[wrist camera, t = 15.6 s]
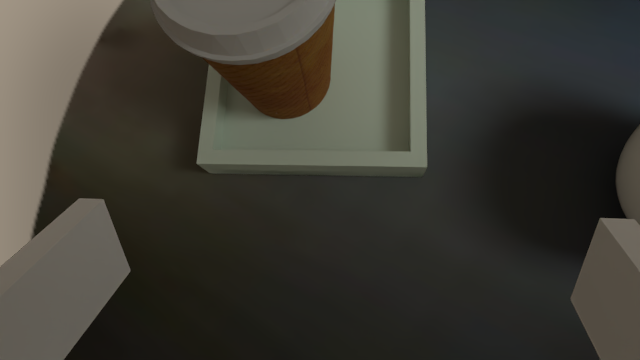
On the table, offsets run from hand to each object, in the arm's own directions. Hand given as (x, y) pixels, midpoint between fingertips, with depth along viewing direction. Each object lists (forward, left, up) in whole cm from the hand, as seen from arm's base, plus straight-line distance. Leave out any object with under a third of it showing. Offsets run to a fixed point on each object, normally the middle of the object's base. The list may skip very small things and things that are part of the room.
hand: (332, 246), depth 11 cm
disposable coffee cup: (+5, -13, -15) cm, 21 cm away
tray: (+3, -14, -16) cm, 22 cm away
